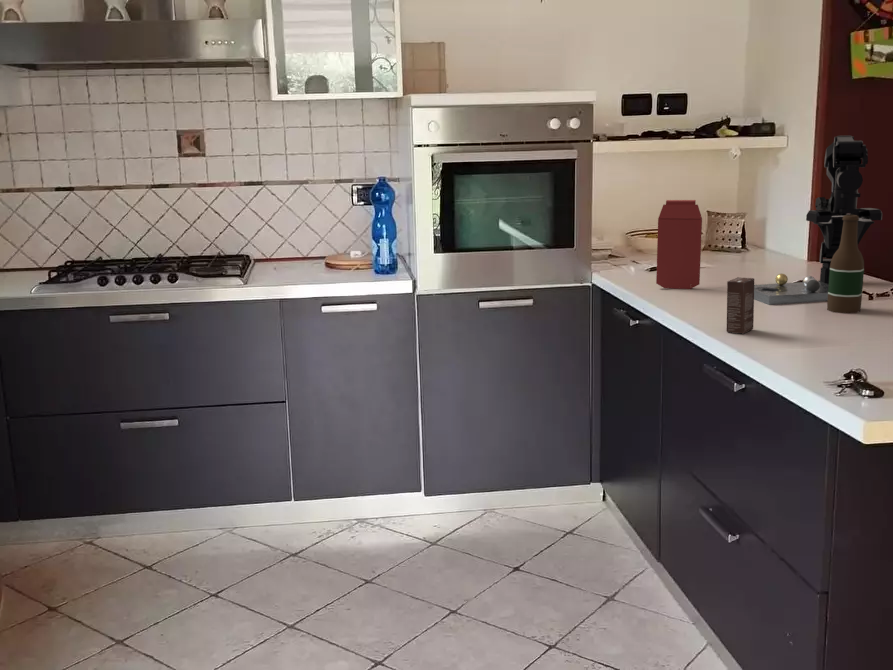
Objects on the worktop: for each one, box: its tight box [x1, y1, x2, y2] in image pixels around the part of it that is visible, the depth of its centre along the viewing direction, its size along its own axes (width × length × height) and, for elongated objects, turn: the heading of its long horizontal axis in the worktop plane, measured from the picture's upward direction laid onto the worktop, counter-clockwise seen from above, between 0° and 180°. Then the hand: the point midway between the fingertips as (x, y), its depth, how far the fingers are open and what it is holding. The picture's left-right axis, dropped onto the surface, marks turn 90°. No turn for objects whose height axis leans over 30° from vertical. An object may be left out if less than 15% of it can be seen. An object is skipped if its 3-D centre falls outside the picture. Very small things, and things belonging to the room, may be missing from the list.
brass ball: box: [775, 273, 789, 285], centre depth 248 cm, size 3×3×3 cm
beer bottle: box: [826, 215, 865, 314], centre depth 222 cm, size 8×8×24 cm
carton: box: [655, 199, 703, 290], centre depth 260 cm, size 12×5×25 cm, turn 74°
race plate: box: [754, 280, 829, 306], centre depth 244 cm, size 23×16×2 cm
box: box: [726, 276, 755, 335], centre depth 206 cm, size 6×4×12 cm
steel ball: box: [802, 275, 816, 287], centre depth 244 cm, size 3×3×3 cm
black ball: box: [807, 279, 820, 292], centre depth 238 cm, size 3×3×3 cm
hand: (841, 247), depth 243 cm, fingers open, 7 cm apart
